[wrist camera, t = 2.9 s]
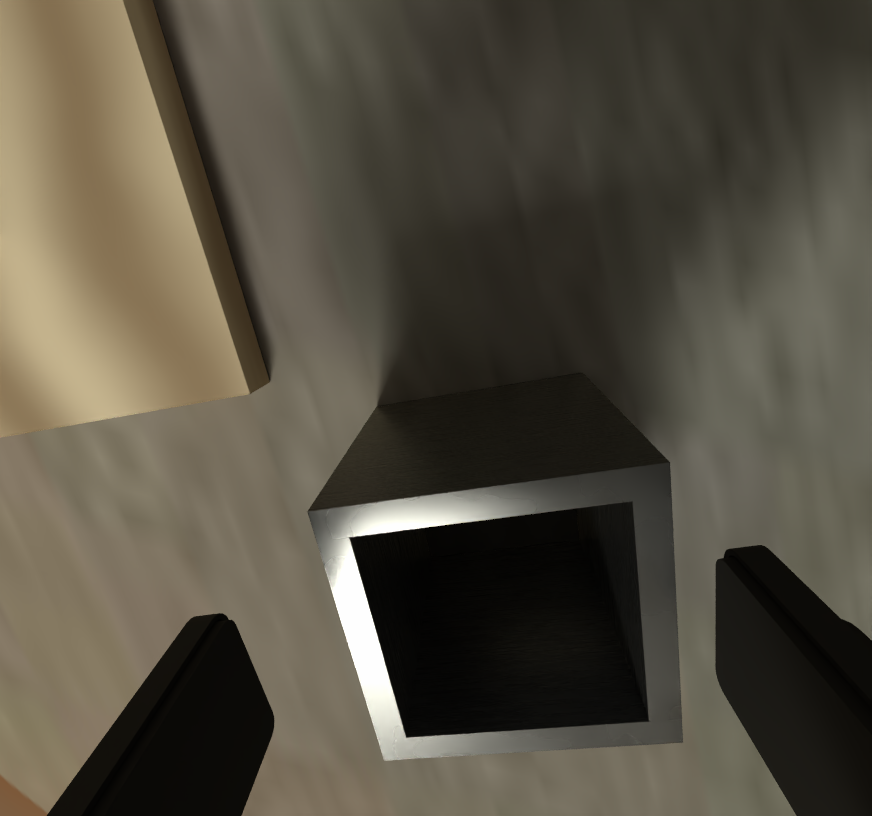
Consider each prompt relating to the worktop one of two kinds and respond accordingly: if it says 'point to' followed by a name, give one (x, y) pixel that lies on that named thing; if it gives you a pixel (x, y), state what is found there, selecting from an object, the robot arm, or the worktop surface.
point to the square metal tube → (506, 574)
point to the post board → (107, 227)
